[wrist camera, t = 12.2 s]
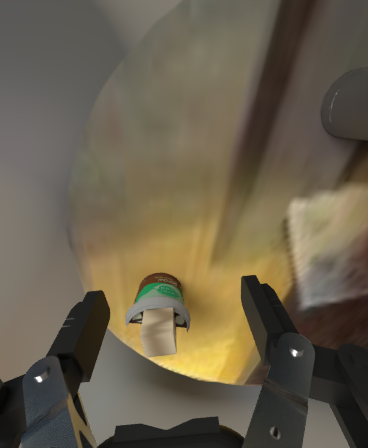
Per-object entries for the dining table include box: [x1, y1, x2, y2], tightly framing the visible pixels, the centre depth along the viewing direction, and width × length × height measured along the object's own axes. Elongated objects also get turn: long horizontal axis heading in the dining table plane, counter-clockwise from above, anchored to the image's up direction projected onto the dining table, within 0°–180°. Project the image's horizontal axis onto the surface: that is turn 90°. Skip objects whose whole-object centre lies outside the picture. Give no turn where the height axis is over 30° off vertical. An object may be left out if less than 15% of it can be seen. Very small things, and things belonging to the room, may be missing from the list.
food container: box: [126, 273, 190, 333], centre depth 42 cm, size 12×6×10 cm, turn 78°
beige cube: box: [140, 307, 177, 357], centre depth 35 cm, size 5×5×5 cm
